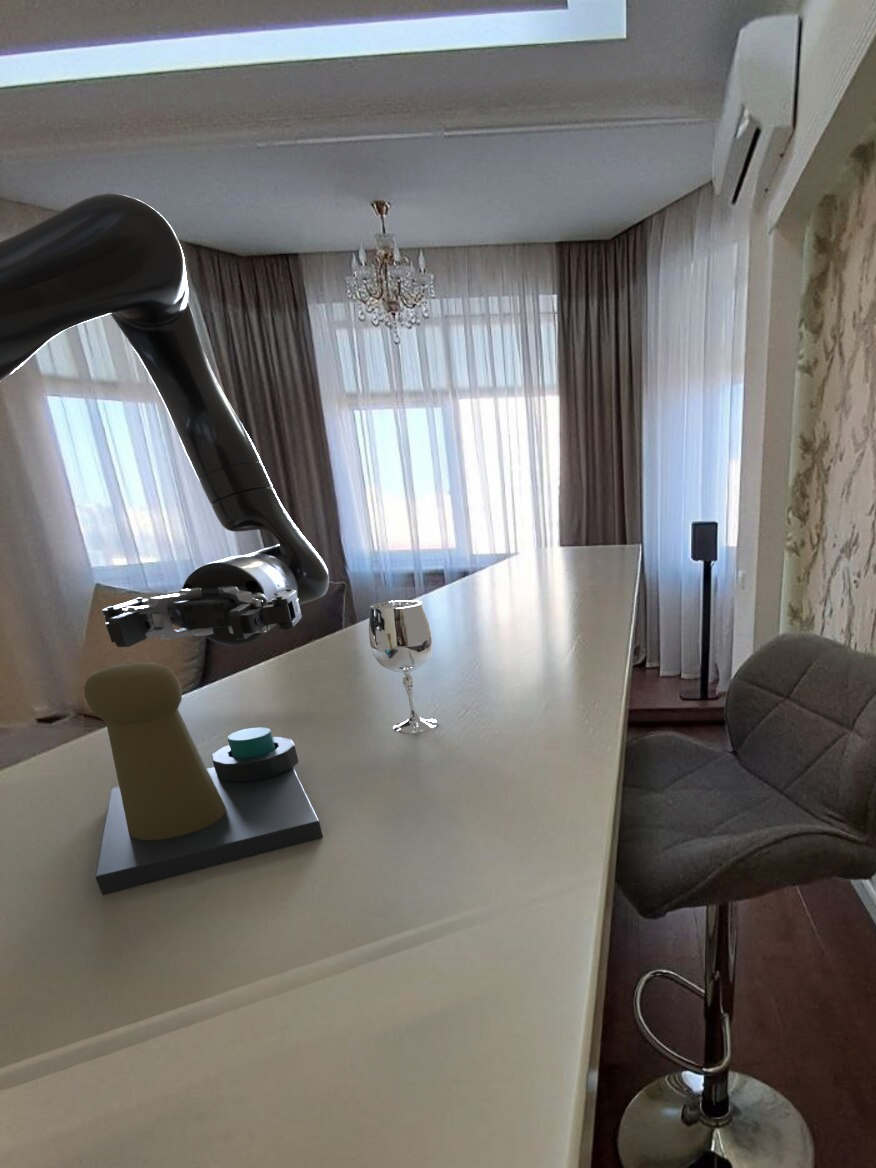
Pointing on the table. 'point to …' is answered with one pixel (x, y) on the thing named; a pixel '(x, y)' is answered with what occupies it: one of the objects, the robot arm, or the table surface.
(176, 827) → the cork
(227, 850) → the scale
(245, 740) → the button
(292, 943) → the table surface
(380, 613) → the wineglass
